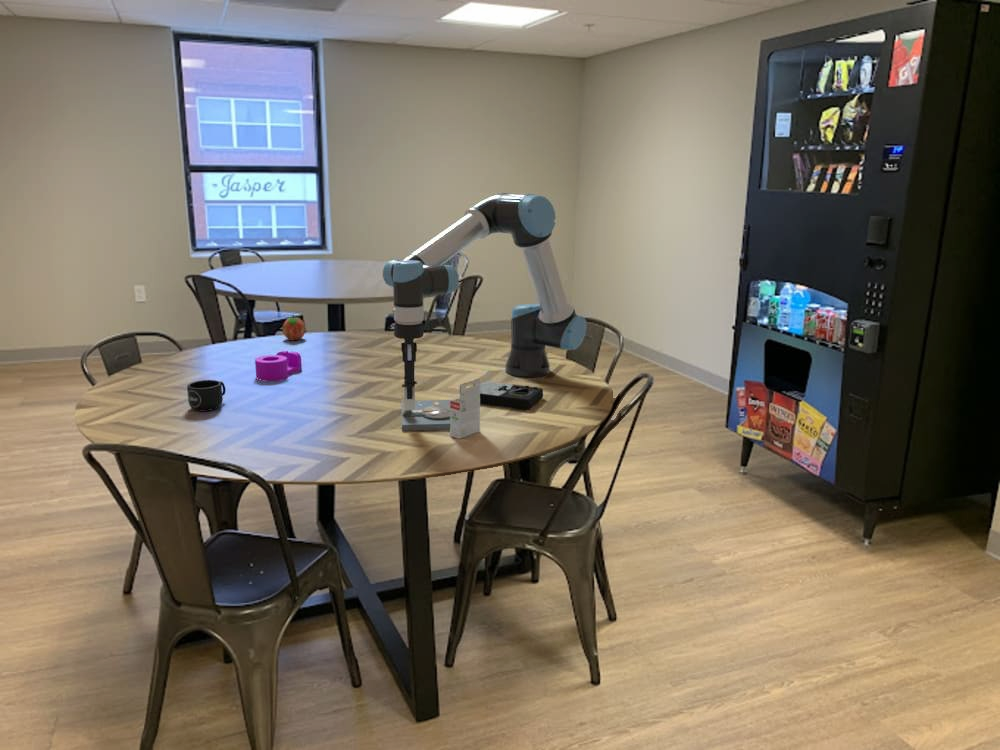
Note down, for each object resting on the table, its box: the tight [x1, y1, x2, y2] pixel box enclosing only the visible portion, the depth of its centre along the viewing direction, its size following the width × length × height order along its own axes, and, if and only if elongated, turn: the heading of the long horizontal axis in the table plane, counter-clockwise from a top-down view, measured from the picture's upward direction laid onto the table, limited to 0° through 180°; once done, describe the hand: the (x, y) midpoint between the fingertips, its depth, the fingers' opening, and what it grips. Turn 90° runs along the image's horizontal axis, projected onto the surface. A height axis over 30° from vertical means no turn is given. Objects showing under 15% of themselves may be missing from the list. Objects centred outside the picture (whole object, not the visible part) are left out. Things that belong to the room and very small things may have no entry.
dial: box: [401, 391, 450, 420], centre depth 206 cm, size 14×9×6 cm, turn 98°
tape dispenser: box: [254, 350, 303, 382], centre depth 248 cm, size 16×10×6 cm, turn 163°
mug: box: [186, 379, 226, 411], centre depth 214 cm, size 12×9×7 cm
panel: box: [400, 399, 452, 432], centre depth 210 cm, size 20×21×2 cm
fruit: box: [282, 314, 306, 341], centre depth 297 cm, size 9×10×10 cm
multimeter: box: [480, 381, 544, 411], centre depth 225 cm, size 13×19×5 cm
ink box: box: [449, 378, 481, 440], centre depth 195 cm, size 4×8×15 cm, turn 140°
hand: (409, 409), depth 200 cm, fingers closed
